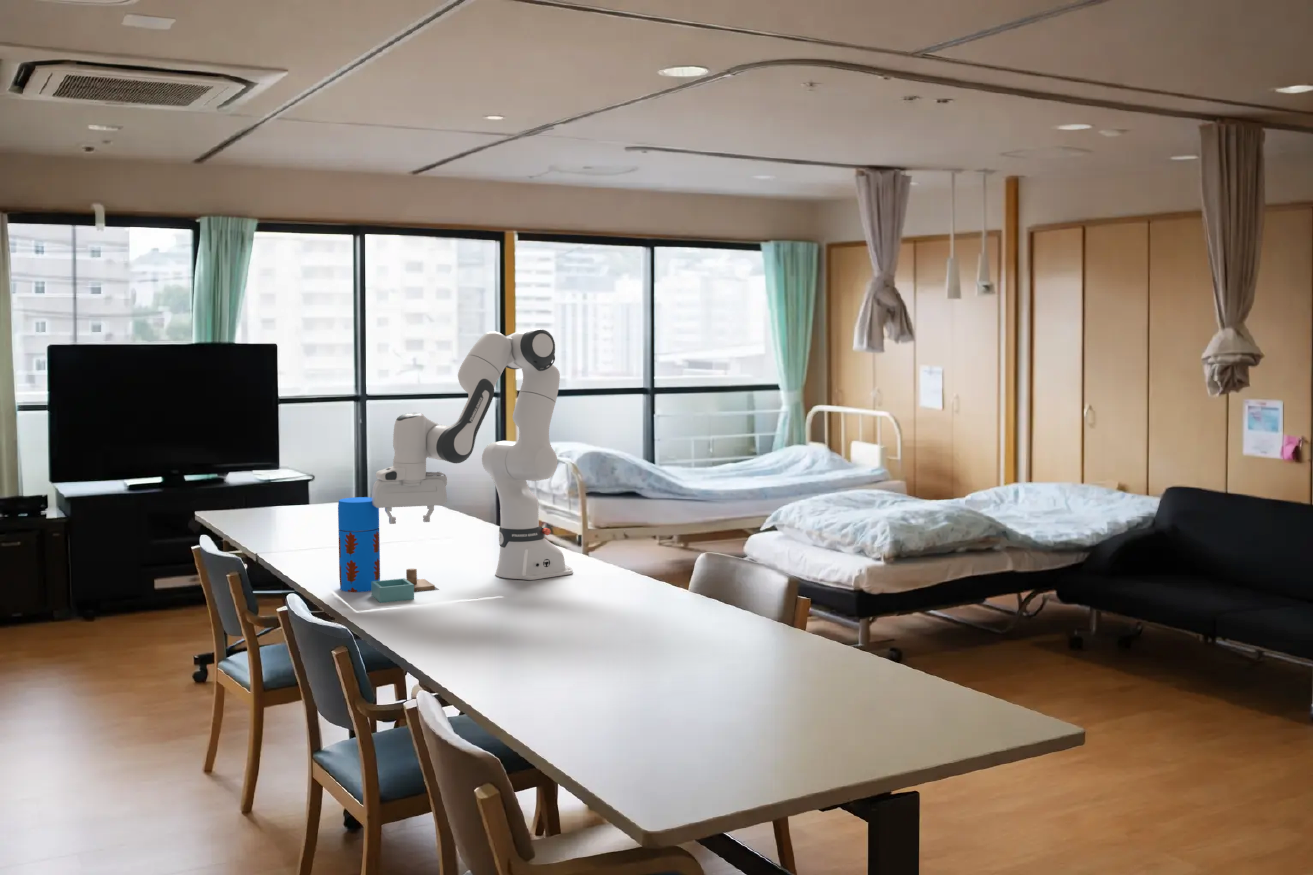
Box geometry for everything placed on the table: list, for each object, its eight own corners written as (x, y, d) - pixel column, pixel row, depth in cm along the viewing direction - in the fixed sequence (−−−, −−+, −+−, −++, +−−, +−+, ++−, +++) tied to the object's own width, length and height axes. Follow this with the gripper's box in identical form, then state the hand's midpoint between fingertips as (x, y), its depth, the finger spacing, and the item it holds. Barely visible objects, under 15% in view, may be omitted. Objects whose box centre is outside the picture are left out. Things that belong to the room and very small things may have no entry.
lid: (424, 582, 336) (424, 564, 335) (434, 589, 327) (434, 571, 326) (389, 585, 331) (388, 567, 331) (398, 592, 322) (398, 574, 322)
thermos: (369, 595, 322) (368, 503, 320) (332, 593, 324) (331, 501, 322) (386, 586, 333) (385, 497, 331) (350, 585, 335) (349, 496, 333)
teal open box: (404, 594, 323) (404, 578, 322) (414, 601, 315) (413, 584, 314) (371, 598, 318) (371, 581, 318) (380, 604, 311) (379, 587, 310)
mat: (426, 583, 337) (426, 581, 337) (439, 591, 327) (439, 589, 326) (384, 587, 332) (384, 585, 332) (396, 596, 321) (396, 593, 321)
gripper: (443, 470, 334) (443, 519, 335) (370, 472, 325) (370, 522, 326) (450, 472, 328) (449, 522, 329) (375, 474, 319) (375, 526, 320)
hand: (409, 522), depth 328 cm, fingers open, 8 cm apart
